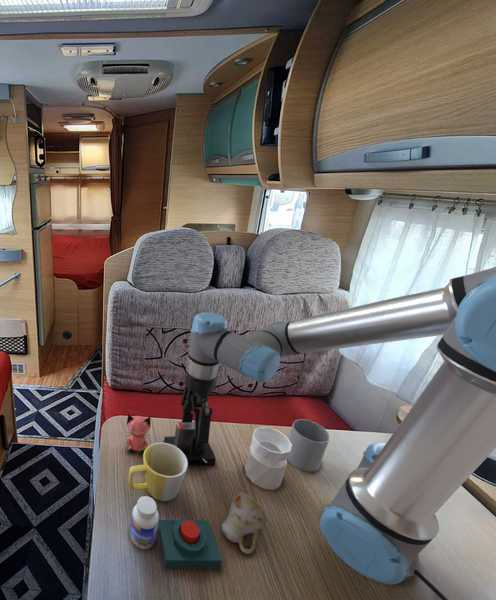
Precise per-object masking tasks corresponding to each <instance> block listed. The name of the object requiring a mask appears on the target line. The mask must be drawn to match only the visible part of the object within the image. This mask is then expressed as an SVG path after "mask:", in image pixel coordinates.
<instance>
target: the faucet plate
mask: <svg viewBox="0 0 496 600" xmlns="http://www.w3.org/2000/svg"><path fill="white" fill-rule="evenodd" d="M174 439H175V435H174V436H164V438H163V443H168V444H171V445H174ZM182 452H183V453H184V455H185V456H186V458H187V461H188V467H209V466H211V467H214V466H215V465H216V460H217V458H216V455H215V454H214V452H213V449H212V447H211V445H210V443H209V442H208V443H206V448H205V450H201V456H199V457H190V455H189V453H190V451H182Z"/></svg>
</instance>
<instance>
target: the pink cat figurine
mask: <svg viewBox="0 0 496 600" xmlns="http://www.w3.org/2000/svg"><path fill="white" fill-rule="evenodd" d="M126 426H127V428H128V430H129V432H128V431H126V433H127V434H126V436H127V437H129V438H127V439H126V445H128V448H127V449H126V450H127V453H128V454H134V453H135V451H137V452H138V454H139V455H141V456H143V454H144V451H145V448H147V447H148V441H147V440H146V437H147V436H149V434H147V433H148V432H149V430H150V429H151V416H148V417H144V416H141V415H133V416H132V415H131V414H130V413H128V414H127V420H126ZM128 434H129V435H128Z"/></svg>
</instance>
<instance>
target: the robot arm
mask: <svg viewBox="0 0 496 600" xmlns="http://www.w3.org/2000/svg"><path fill="white" fill-rule="evenodd" d="M438 336H441V338H440V340H439V341H438V343H437V344H436V349H437V352H438V353H439V355H440V357H441V358H442V361H443V362H442V364H441V365H440V366H439V368H438V369H437V370H436V372H435V373H434V374H433V376H432V377H431V379H430V381H429V382H428V383H427V385H426V386H425V388H424V389H423V391H422V392H421V393H420V395H419V396H418V398H417V399H416V400H415V402H414V403H413V405H412V406H411V408H410V409H409V410H408V412H407V413H406V415H405V416H404V418H403V419H402V421H401V422H400V424H399V425H398V426H397V428H396V429H395V431H394V432H393V433H392V435H391V436H390V438H389V439H388V440H387V442H386V443H381V442H374V443H371V444H369V445H368V446H367V447H366V449H365V450H364V451H362V452H363V453H362V455H363V456H362V458H361V461H360V462H359V464H358V466H357V468H355V469H354V470H352V471H351V472H350V474H349V476H348V477H347V478H346V480H345V481H344V483H343V484H342V485H341V487H340V488H339V490H338V491H337V494H335V496H334V497H333V499H332V500H331V502H330V503H329V504H328V506H326V507H324V508H323V510H322V514H321V516H320V519H319V524H320V530H321V533H322V535H323V537H324V538H325V540H326V543H327V544H328V545H329V547H330V548H331V549H332V551H333V552H334V553H335V554H336V555H337V556H338V557H339V558H340V559H341V560H342V561H343V562H344V563H345V564H346V565H348V567H350V568H352V569H353V571H356V572H357V573H358V574H360V575H362V576H364V577H366V578H367V579H370V580H373V581H375V582H377V583H380V584H384V585H392V586H393V585H397V584H400V583H401V582H405V581H409V580H410V579H411V578H412V577H414V575H416V576H417V578H418V579H420V580H421V581H422V582H423V583H424V584H425V585H426V586H427V587H428V588H429V589H430V590H431V591H432V592H433V593H435V595H437V596H438V597H439V599H441V600H449V598H447V597H446V596H445V595H444V594H443V593H442V592H441V591H440V590H439V589H438V588H437V587H435V585H434V584H433V583H432V582H430V580H429V579H427V577H425V576H424V575H423V574H422V573H421V572H420V571H419V570H418V568H419V554H420V553H421V552H422V551H423V550H424V549H425V548H426V547H427V546H428V544H429V543H431V542H432V540H434V538H436V536H437V535H438V533H439V532H440V525H439V521H438V518H437V516H436V514H437V512H438V511H439V510H440V509H441V508H442V507H443V506H444V505H445V503H446V502H447V501H448V500H449V499H450V498H451V497H452V496H453V495H454V494H455V493H456V492H457V491H458V489H459V488H461V486H462V485H463V484H464V483H465V482H466V481H467V480H468V479H469V478H470V477H471V476H472V474H473V473H474V472H475V471H476V470H477V469H478V468H479V467H480V466H481V465H482V463H483V462H484V461H485V460H486V459H487V458H488V457H489V456H490V455H491V454H492V452H494V451H495V450H496V266H493V267H491V268H487V269H484V270H480V271H476V272H474V273H469V274H466V275H461V276H457V277H453V278H450V279H449V281H447V283H445V285H444V286H442V287H438V288H433V289H429V290H425V291H420V292H415V293H411V294H406V295H401V296H397V297H393V298H389V299H383V300H379V301H375V302H370V303H365V304H361V305H356V306H352V307H348V308H342V309H339V310H334V311H330V312H325V313H320V314H315V315H311V316H307V317H303V318H298V319H293V320H290V321H287V320H280V321H276V322H273V323H270V324H268V325H267V326H265V327H264V328H261V329H259V330H257V331H255V332H253V333H251V334H249V335H246V336H243V335H241V334H238V333H236V332H233V331H232V330H230V329H228V320H227V319H226V318H225V317H224V316H223V315H222V314H219V313H216V312H211V311H210V312H209V311H207V312H206V311H204V312H200V313H197V314H196V315H194V318H193V321H192V326H191V329H190V339H189V349H188V352H187V353H188V354H187V357H186V365H185V372H184V380H183V381H184V386H183V392H182V396H181V400H180V405H181V406H182V412H183V413H182V416H181V423H183V422H194V435H192V436H191V438H192V441H191V447H190V453H189V455H190V457H199V456H201V450H202V445H203V443H209V441H210V440H209V439H210V429H211V420H212V415H213V411H214V410H213V407H209V405H208V402H209V395H211V394H212V393H213V392H214V391H215V390H216V385H217V380H218V377H217V376H218V373H219V366H220V365H221V364H222V365H224V366H226V367H228V368H229V369H231V370H233V371H235V372H237V373H239V374H240V375H242V376H243V377H245V378H248V379H251V380H253V381H255V382H257V383H261V384H264V383H267V382H270V381H271V380H272V378H273V377H274V376H275V375H276V373H277V371H278V369H279V367H280V363H281V359H282V358H284V357H289V356H296V355H303V354H309V353H310V354H311V353H316V352H324V351H331V350H339V349H346V348H347V349H348V348H354V347H355V348H356V347H362V346H370V345H377V344H386V343H393V342H394V343H395V342H401V341H408V340H416V339H423V338H424V339H425V338H430V337H438Z"/></svg>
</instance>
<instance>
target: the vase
mask: <svg viewBox="0 0 496 600" xmlns="http://www.w3.org/2000/svg"><path fill="white" fill-rule="evenodd" d="M288 438H289V436H286V434H284V433H283V432H281V431H280V430H278V429H275V428H271V427H269V426H258V427H257V428H255V429H254V430H253V431H252V438H251V440H250V441H251V442H250V443H251V444H250V445H249V447H248V454H247V459H246V462H245V464H244V470H245V476H246V477H247V478H248V480H250V482H252V483H253V484H254V485H255V486H257V487H259V488H261V489H263V490H271V491H274V490H277V489H278V488H279V487H281V485H282V482H283V478H284V476H285V471H286V467H287V465H288V460H287V458H288V457H289V456H290V452H291V448H292V444H291V442H290V441H289V439H288Z"/></svg>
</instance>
